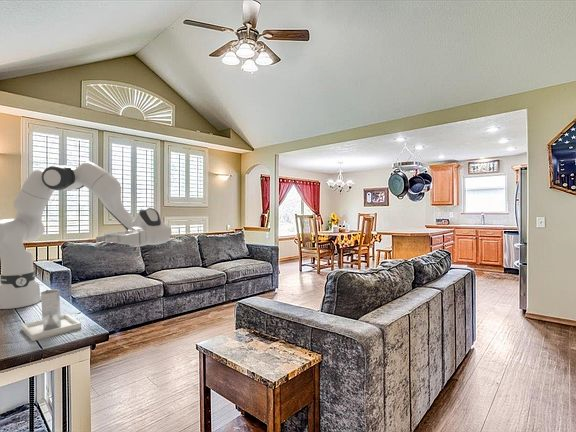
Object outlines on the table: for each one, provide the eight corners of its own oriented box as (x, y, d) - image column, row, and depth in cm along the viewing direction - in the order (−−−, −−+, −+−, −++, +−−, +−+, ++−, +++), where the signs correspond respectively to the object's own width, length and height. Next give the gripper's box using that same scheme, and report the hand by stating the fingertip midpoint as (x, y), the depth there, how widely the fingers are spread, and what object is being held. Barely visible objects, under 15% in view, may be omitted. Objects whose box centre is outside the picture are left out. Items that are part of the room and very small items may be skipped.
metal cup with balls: (41, 328, 115) (39, 289, 114) (58, 323, 119) (56, 286, 118) (45, 332, 112) (42, 292, 111) (63, 327, 116) (60, 289, 115)
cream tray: (21, 329, 116) (21, 324, 116) (67, 318, 127) (67, 313, 126) (32, 341, 106) (32, 335, 105) (81, 328, 116) (81, 322, 116)
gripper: (124, 228, 149) (91, 230, 138) (145, 230, 135) (110, 232, 125) (125, 242, 149) (91, 245, 139) (146, 245, 136) (111, 249, 125)
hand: (100, 239), depth 132 cm, fingers open, 8 cm apart
